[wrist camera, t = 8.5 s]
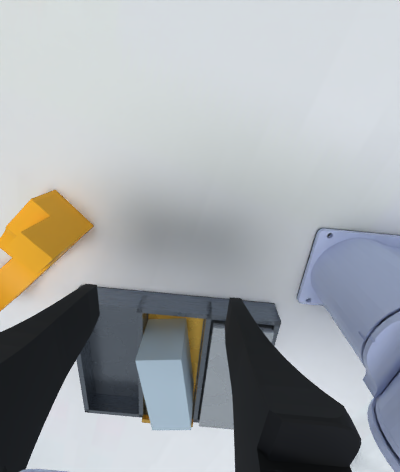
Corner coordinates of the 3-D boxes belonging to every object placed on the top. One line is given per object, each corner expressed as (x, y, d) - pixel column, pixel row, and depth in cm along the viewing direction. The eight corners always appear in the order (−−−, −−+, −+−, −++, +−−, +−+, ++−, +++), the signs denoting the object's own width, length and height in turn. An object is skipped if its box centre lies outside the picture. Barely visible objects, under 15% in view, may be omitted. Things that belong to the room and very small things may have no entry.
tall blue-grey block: (186, 318, 25) (181, 359, 21) (193, 382, 29) (191, 429, 25) (148, 319, 25) (135, 360, 21) (161, 383, 29) (152, 430, 25)
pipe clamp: (56, 189, 21) (-4, 212, 15) (94, 225, 22) (52, 259, 16) (-15, 265, 24) (-86, 307, 18) (22, 292, 26) (-34, 340, 20)
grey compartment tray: (274, 303, 25) (283, 328, 22) (247, 405, 32) (251, 435, 28) (80, 285, 25) (62, 307, 22) (94, 391, 31) (81, 419, 28)
